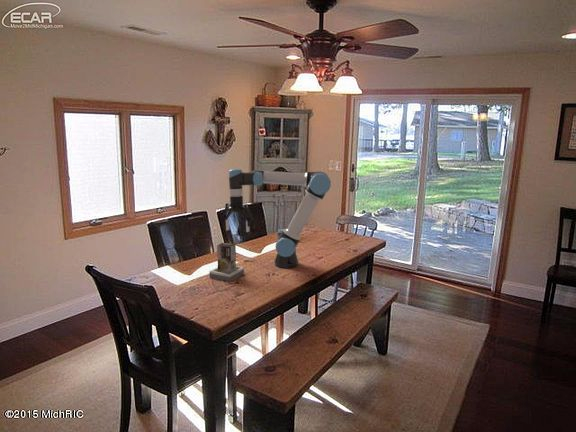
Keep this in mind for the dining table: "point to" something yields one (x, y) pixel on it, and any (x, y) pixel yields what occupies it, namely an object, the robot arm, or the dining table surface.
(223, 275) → the grey square tray
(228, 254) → the coffee box
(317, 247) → the dining table surface
